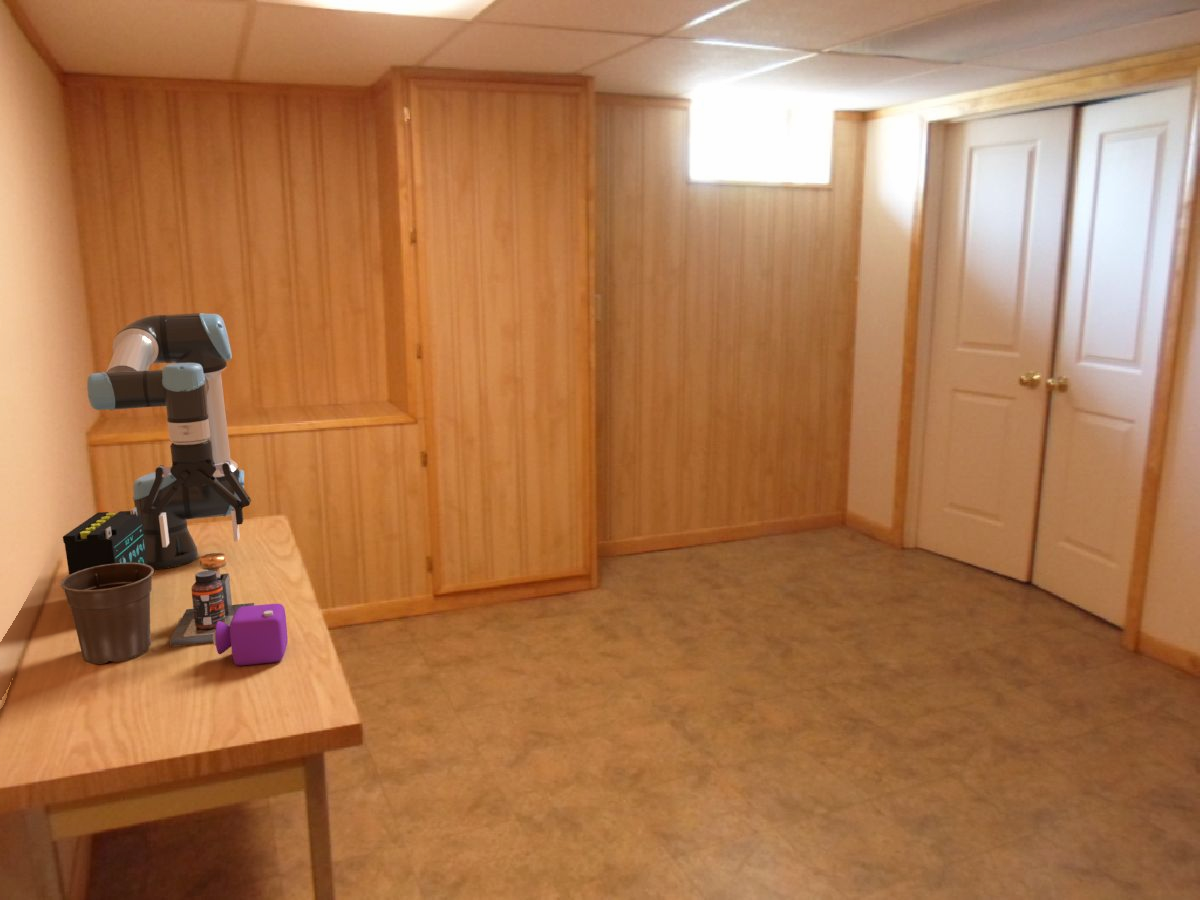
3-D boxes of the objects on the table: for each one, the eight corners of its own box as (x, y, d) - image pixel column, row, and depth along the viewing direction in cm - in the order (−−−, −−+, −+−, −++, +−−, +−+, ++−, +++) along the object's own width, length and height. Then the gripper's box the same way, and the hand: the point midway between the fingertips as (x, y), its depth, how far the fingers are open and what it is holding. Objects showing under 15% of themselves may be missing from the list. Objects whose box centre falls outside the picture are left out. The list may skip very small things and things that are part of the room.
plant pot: (180, 641, 188) (172, 566, 185) (116, 674, 174) (105, 593, 170) (120, 631, 194) (110, 558, 190) (52, 663, 179) (40, 584, 176)
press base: (187, 615, 202) (182, 576, 200) (254, 609, 205) (250, 570, 203) (170, 646, 186) (165, 604, 184) (243, 639, 189) (239, 597, 187)
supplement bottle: (214, 631, 188) (209, 578, 186) (189, 629, 190) (183, 577, 187) (231, 620, 194) (226, 569, 192) (206, 618, 195) (201, 567, 193)
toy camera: (214, 653, 182) (209, 606, 180) (287, 641, 187) (282, 595, 185) (215, 675, 172) (210, 625, 170) (292, 662, 178) (287, 613, 176)
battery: (121, 617, 202) (110, 530, 198) (74, 620, 200) (62, 532, 196) (150, 587, 220) (140, 506, 216) (108, 589, 219) (97, 509, 215)
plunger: (205, 584, 201) (201, 554, 200) (230, 582, 202) (227, 552, 201) (200, 592, 196) (197, 561, 195) (226, 590, 197) (223, 559, 196)
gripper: (117, 448, 177) (131, 553, 182) (253, 440, 183) (263, 542, 187) (127, 441, 184) (140, 542, 189) (258, 433, 190) (268, 532, 194)
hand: (201, 542), depth 188 cm, fingers open, 13 cm apart
